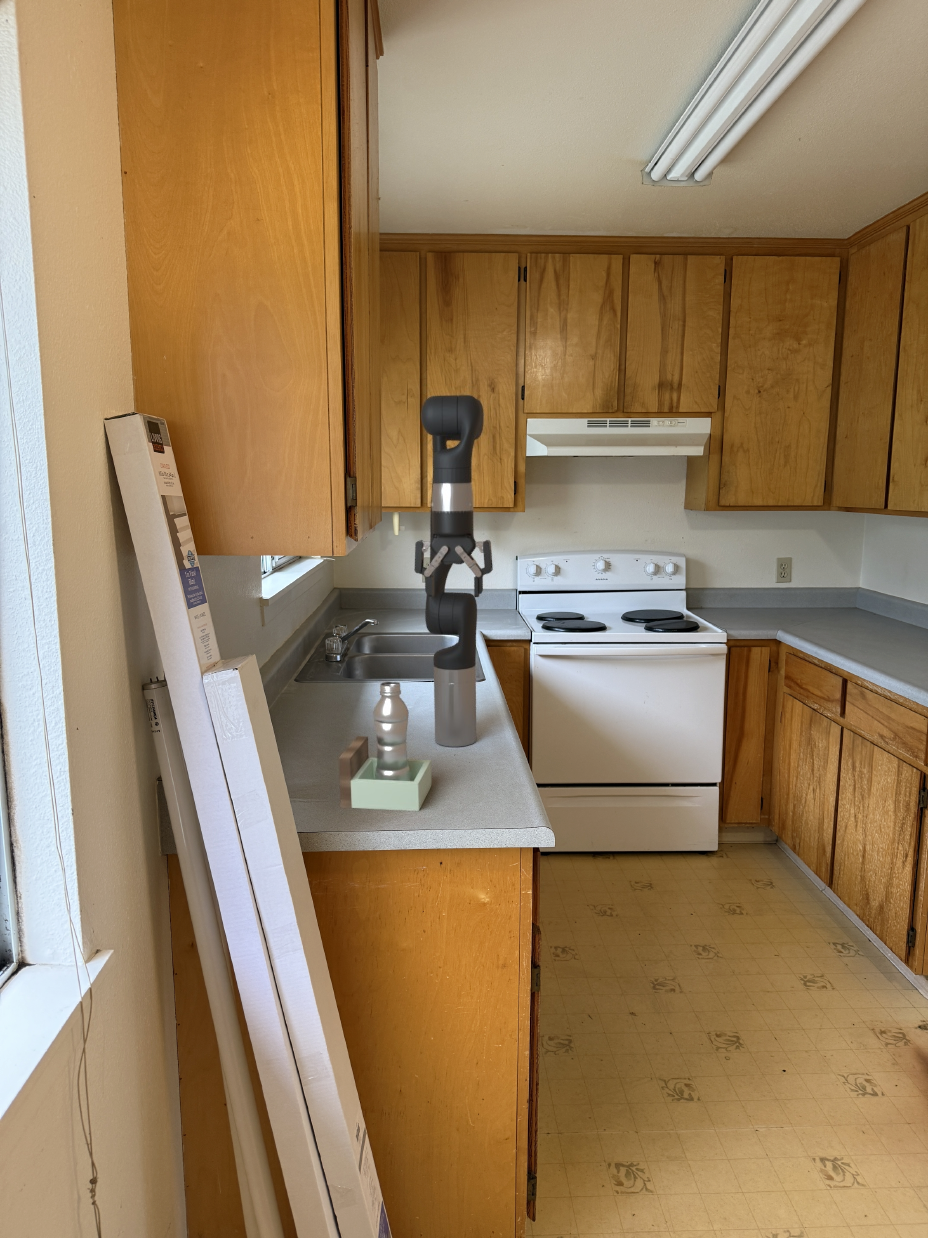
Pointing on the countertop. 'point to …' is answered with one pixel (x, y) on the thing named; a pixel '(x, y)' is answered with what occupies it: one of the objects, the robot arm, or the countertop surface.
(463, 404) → the robot arm
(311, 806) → the countertop surface
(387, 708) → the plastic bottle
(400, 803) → the socket block
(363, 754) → the backstop
